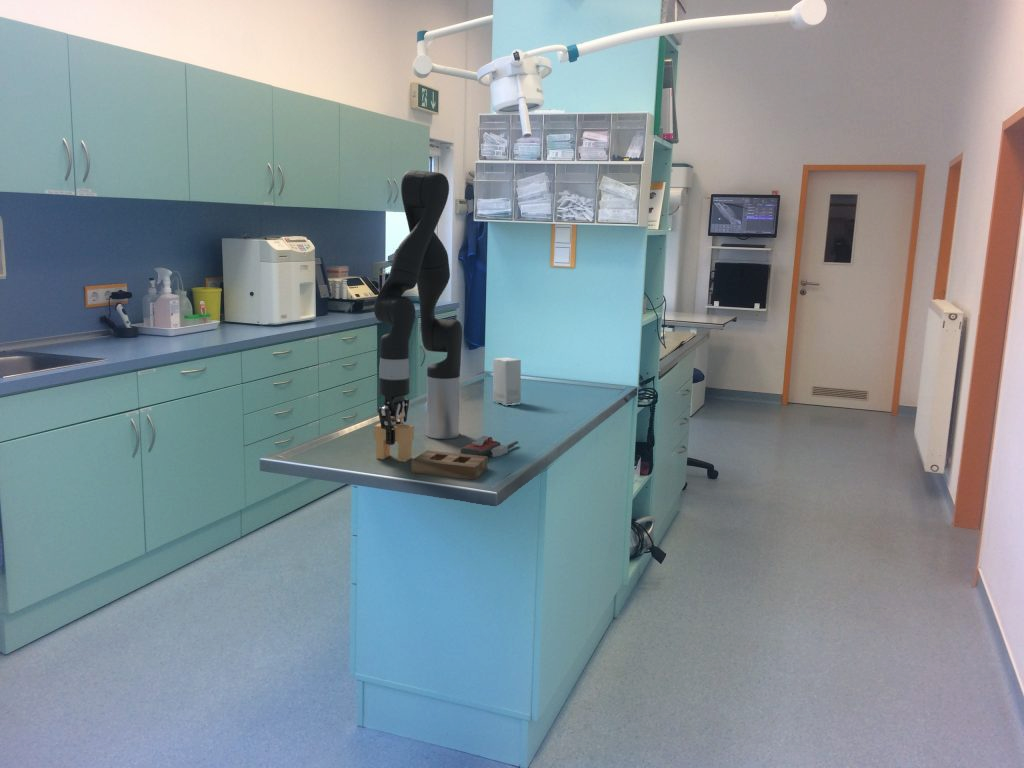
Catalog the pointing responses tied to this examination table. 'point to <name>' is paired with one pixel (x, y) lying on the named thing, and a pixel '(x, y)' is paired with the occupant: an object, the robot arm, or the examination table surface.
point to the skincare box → (507, 380)
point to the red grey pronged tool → (486, 447)
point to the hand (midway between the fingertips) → (394, 441)
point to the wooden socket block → (450, 464)
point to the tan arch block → (402, 436)
